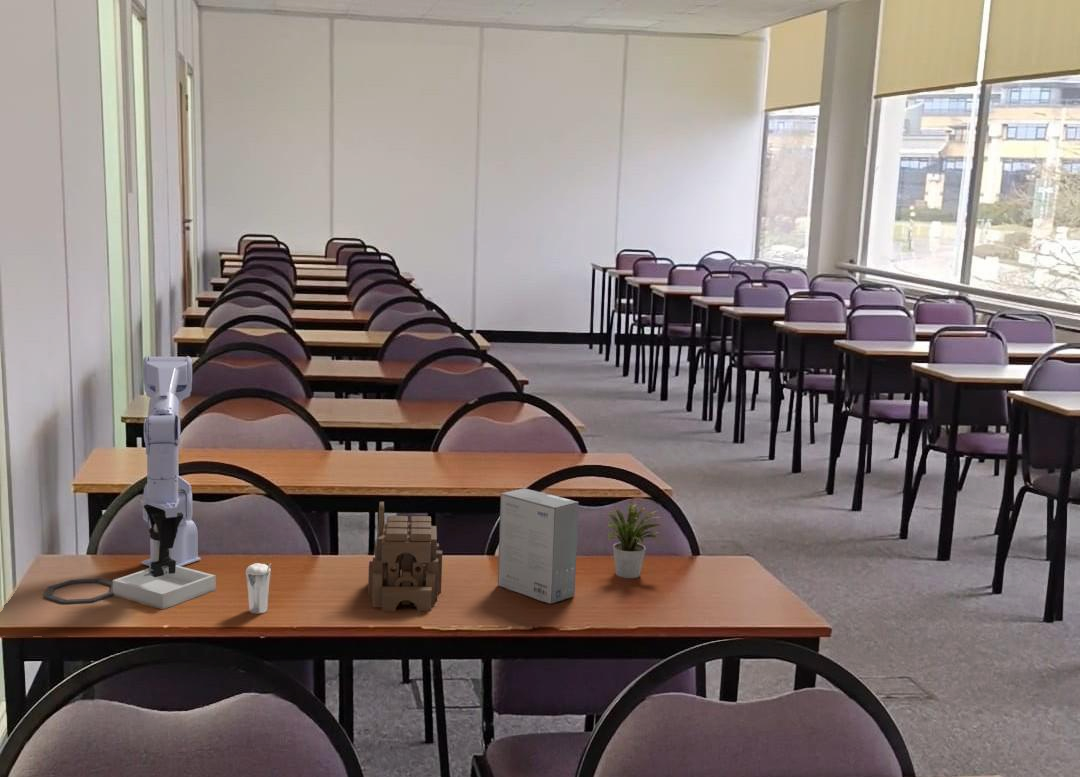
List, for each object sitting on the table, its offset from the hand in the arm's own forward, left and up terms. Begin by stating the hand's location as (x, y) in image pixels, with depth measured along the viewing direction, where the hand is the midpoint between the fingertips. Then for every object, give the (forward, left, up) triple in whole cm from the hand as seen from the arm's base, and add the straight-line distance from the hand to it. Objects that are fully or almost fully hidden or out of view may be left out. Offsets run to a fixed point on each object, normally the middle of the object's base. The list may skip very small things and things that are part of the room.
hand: (163, 544), depth 223 cm
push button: (+1, 0, -6) cm, 6 cm away
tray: (0, 0, -10) cm, 10 cm away
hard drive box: (-44, +59, -10) cm, 74 cm away
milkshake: (-3, +22, -10) cm, 25 cm away
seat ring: (+9, -13, -10) cm, 19 cm away
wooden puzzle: (-28, +38, -10) cm, 48 cm away
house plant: (-64, +70, -10) cm, 96 cm away
